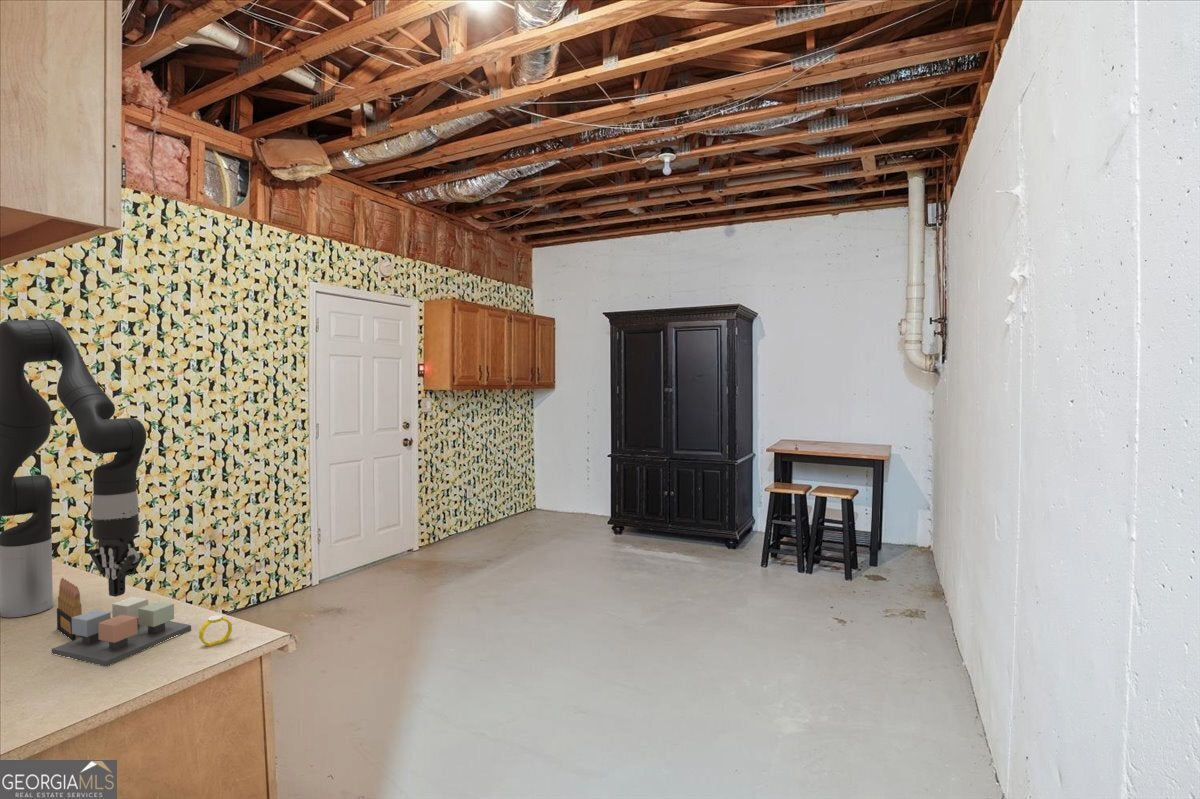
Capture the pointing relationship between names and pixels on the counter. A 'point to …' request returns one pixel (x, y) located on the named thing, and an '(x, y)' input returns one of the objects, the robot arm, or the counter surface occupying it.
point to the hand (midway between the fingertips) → (117, 595)
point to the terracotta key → (117, 628)
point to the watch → (213, 620)
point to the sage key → (155, 613)
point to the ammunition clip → (68, 608)
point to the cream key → (128, 606)
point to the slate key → (89, 622)
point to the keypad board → (117, 655)
